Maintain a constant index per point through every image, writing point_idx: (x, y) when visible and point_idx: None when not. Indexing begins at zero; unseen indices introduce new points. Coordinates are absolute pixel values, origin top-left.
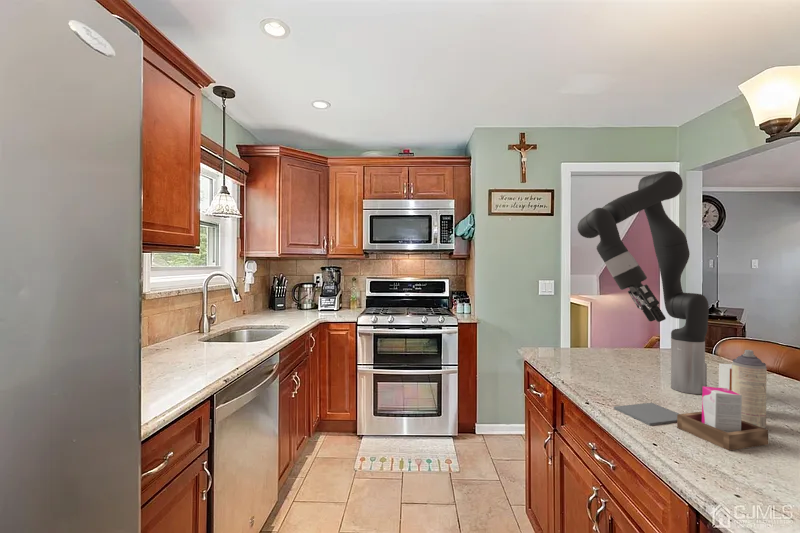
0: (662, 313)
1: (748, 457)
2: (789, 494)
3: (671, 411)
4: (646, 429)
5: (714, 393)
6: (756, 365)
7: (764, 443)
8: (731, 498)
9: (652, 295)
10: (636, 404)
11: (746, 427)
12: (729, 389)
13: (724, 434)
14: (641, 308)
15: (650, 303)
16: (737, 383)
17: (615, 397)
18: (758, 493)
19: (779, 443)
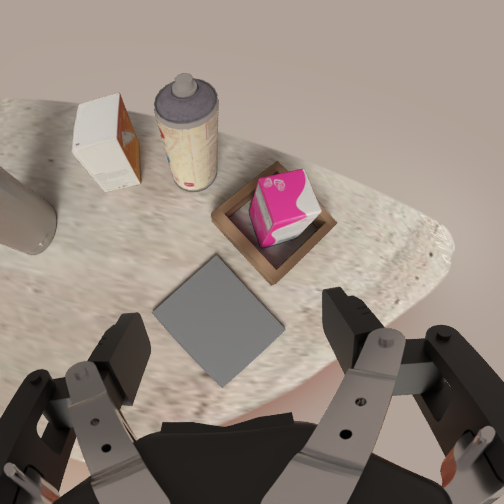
0: (352, 303)
1: (337, 212)
2: (404, 206)
3: (192, 283)
4: (306, 335)
5: (318, 213)
6: (216, 95)
7: None
8: (437, 261)
9: (486, 378)
10: (181, 345)
11: None
12: (129, 163)
13: (332, 227)
14: (124, 418)
15: (445, 381)
16: (204, 148)
17: (143, 378)
18: (418, 234)
19: (258, 156)
